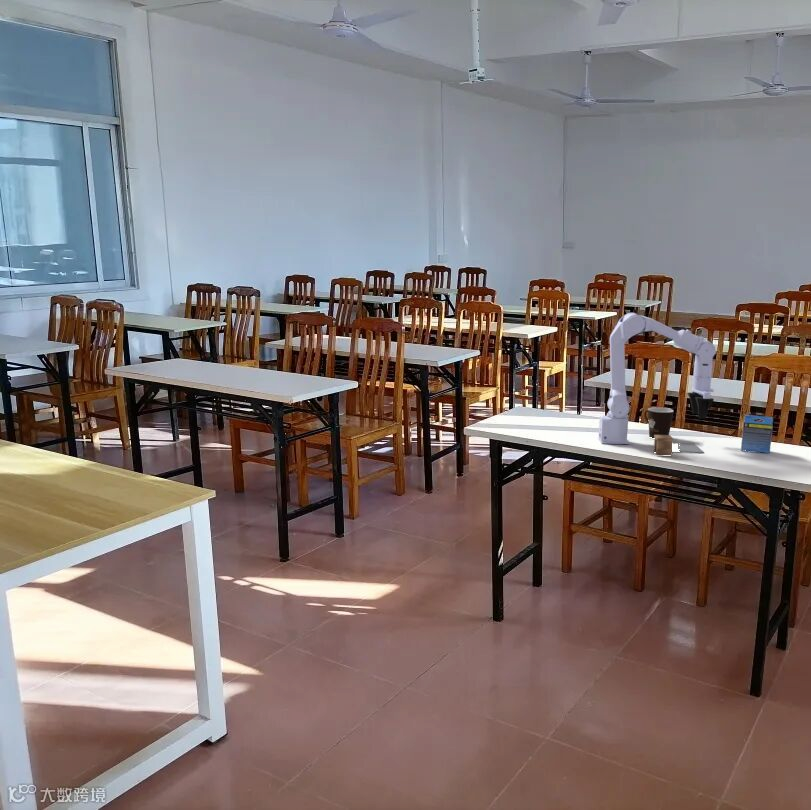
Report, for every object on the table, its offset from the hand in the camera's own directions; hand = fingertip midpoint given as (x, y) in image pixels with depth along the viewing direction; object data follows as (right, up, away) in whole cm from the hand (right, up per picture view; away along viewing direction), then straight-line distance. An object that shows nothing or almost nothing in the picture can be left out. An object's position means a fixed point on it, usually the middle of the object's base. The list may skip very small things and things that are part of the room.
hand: (698, 415), depth 280 cm
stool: (-16, -12, -12) cm, 23 cm away
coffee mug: (-10, -8, +13) cm, 18 cm away
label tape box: (+17, -12, -6) cm, 21 cm away
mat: (-7, -11, -3) cm, 13 cm away
